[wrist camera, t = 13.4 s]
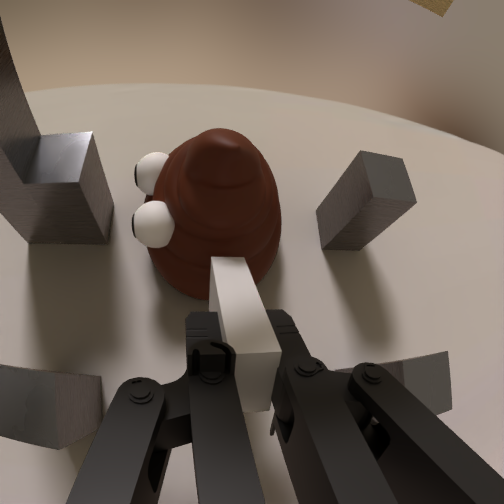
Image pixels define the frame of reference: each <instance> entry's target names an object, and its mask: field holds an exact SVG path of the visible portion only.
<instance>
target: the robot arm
mask: <svg viewBox="0 0 504 504" xmlns="http://www.w3.org/2000/svg"><path fill="white" fill-rule="evenodd" d="M186 357H187V370H186V372H185V374H184V375H183V376H182V377H181V378H179V379H178V380H176V381H174V382H171V383H168V384H164V385H160V384H159V383H158V382H156V381H155V380H152V379H149V378H143V377H137V378H133V379H129V380H127V381H126V382H124V383H123V384H122V385H121V386H120V387H119V388H118V390H117V392H116V394H115V396H114V398H113V400H112V402H111V404H110V407H109V409H108V411H107V413H106V415H105V417H104V419H103V421H102V423H101V425H100V427H99V430H98V432H97V434H96V436H95V438H94V440H93V443H92V445H91V447H90V449H89V451H88V453H87V456H86V458H85V460H84V462H83V465H82V467H81V469H80V471H79V474H78V476H77V478H76V481H75V483H74V485H73V488H72V490H71V492H70V495H69V497H68V500H67V502H66V504H158V500H159V496H160V492H161V488H162V484H163V480H164V476H165V473H166V469H167V465H168V461H169V457H170V454H171V450H172V448H175V447H178V446H182V445H185V444H188V443H192V449H193V460H194V469H195V478H196V487H197V495H198V503H199V504H265V500H264V496H263V492H262V489H261V485H260V481H259V477H258V473H257V469H256V465H255V461H254V457H253V453H252V449H251V445H250V441H249V437H248V432H247V428H246V424H245V420H244V415H243V413H248V412H260V411H269V410H270V406H271V401H272V403H273V406H274V409H275V412H274V416H273V420H272V424H271V428H270V436H272V435H274V431H275V430H276V433H277V436H278V440H279V443H280V446H281V449H282V452H283V456H284V459H285V462H286V465H287V468H288V471H289V475H290V478H291V481H292V484H293V487H294V490H295V493H296V496H297V499H298V502H299V504H504V479H503V478H502V477H501V476H500V475H499V474H498V473H497V472H496V471H495V470H494V469H493V468H492V467H491V466H489V465H488V464H487V463H486V462H485V461H484V460H483V459H482V458H481V457H480V456H479V455H478V454H477V453H476V452H474V451H473V450H472V449H471V448H470V447H469V446H468V445H467V444H466V443H465V442H464V441H463V440H462V439H461V438H459V437H458V436H457V435H456V434H455V433H454V432H453V431H452V430H451V429H450V428H449V427H448V426H447V425H445V424H444V423H443V422H442V421H441V420H440V419H439V418H438V417H437V416H436V415H435V414H434V413H432V412H431V411H430V410H429V409H428V408H427V407H426V406H425V405H424V404H423V403H422V402H421V401H420V400H418V399H417V398H416V397H415V396H414V395H413V394H412V393H411V392H410V391H409V390H408V389H407V388H405V387H404V386H403V385H402V384H401V383H400V382H399V381H398V380H397V379H396V378H395V377H394V376H392V375H391V374H390V373H389V372H388V371H387V370H386V369H384V368H383V367H382V366H380V365H377V364H374V363H367V362H365V363H360V364H358V365H357V366H355V367H354V369H353V371H352V373H344V372H335V371H330V370H328V369H327V367H326V366H325V365H324V363H323V362H322V361H320V360H318V359H317V358H314V357H311V355H310V353H309V351H308V349H307V347H306V345H305V343H304V341H303V339H302V337H301V335H300V334H299V331H298V329H297V327H295V323H294V321H293V319H292V317H291V316H290V315H288V314H287V313H286V312H285V311H284V310H282V309H281V310H265V308H264V306H263V303H262V301H261V298H260V296H259V293H258V291H257V288H256V286H255V283H254V281H253V278H252V276H251V273H250V271H249V268H248V266H247V263H246V261H245V258H244V257H211V270H210V292H209V312H190V314H189V315H188V317H187V318H186ZM373 417H374V418H375V419H376V420H377V421H378V422H379V423H378V422H375V421H374V420H373V419H372V418H373Z"/></svg>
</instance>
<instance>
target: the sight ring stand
mask: <svg viewBox="0 0 504 504" xmlns="http://www.w3.org/2000/svg"><path fill="white" fill-rule="evenodd" d="M410 1H412V2H414V3H416V4H418V5H420V6H422V7H424V8H426V9H428V10H430V11H432V12H434V13H436V14H437V15H439V16H441V17H443V16H444V14H445V13H446V11H447V10H448V8H449V7H450V5H451V3H452V2H453V0H410ZM40 137H41V134H40V132H39V130H38V127H37V125H36V122H35V120H34V117H33V115H32V113H31V110H30V107H29V105H28V102H27V100H26V97H25V94H24V92H23V89H22V86H21V83H20V81H19V78H18V75H17V72H16V69H15V66H14V63H13V60H12V56H11V53H10V50H9V47H8V43H7V40H6V36H5V33H4V29H3V25H2V21H1V17H0V213H1V214H2V215H3V216H4V217H5V219H6V220H7V221H8V222H9V223H10V224H11V225H12V226H13V227H14V229H15V230H16V231H17V232H18V233H19V234H20V235H21V236H22V237H23V238H24V239H25V240H26V241H27V242H28V243H57V244H66V243H65V242H64V241H63V240H62V238H61V237H60V236H59V234H58V233H57V232H56V230H55V229H54V227H53V226H52V225H51V223H50V222H49V221H48V219H47V218H46V216H45V215H44V214H43V212H42V211H41V209H40V208H39V206H38V205H37V204H36V202H35V201H34V199H33V198H32V196H31V195H30V193H29V192H28V190H27V189H26V187H25V186H24V181H25V178H26V175H27V172H28V169H29V166H30V163H31V161H32V158H33V155H34V152H35V150H36V147H37V145H38V142H39V139H40Z"/></svg>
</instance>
